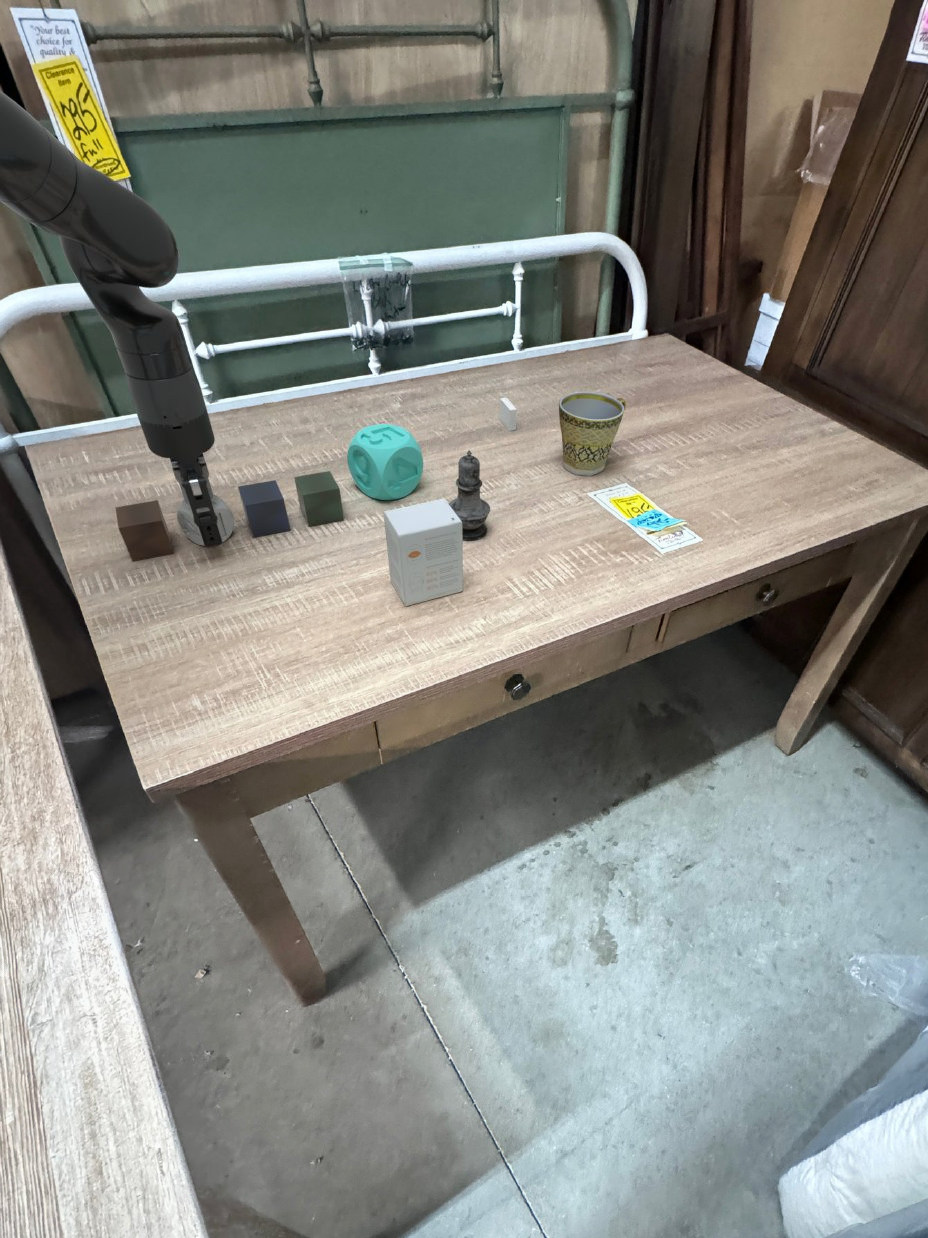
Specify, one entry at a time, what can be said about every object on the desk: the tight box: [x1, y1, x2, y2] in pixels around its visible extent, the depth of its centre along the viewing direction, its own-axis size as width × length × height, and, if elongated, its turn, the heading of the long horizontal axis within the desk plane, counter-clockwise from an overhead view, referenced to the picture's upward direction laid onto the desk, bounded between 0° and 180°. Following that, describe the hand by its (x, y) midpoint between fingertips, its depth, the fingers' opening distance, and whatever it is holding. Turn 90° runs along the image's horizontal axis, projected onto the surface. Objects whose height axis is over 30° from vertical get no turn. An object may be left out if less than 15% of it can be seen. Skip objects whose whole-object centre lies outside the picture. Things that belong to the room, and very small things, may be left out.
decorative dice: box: [346, 423, 424, 501], centre depth 101 cm, size 8×8×8 cm
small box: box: [382, 498, 464, 607], centre depth 84 cm, size 8×6×10 cm
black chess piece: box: [448, 449, 491, 542], centre depth 92 cm, size 6×6×12 cm
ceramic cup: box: [558, 391, 627, 477], centre depth 108 cm, size 13×10×10 cm
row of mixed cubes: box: [115, 470, 345, 562], centre depth 92 cm, size 28×5×5 cm, turn 115°
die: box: [176, 493, 235, 547], centre depth 90 cm, size 5×5×5 cm
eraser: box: [498, 397, 518, 432], centre depth 119 cm, size 1×5×4 cm, turn 22°
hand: (208, 527), depth 91 cm, fingers open, 8 cm apart
